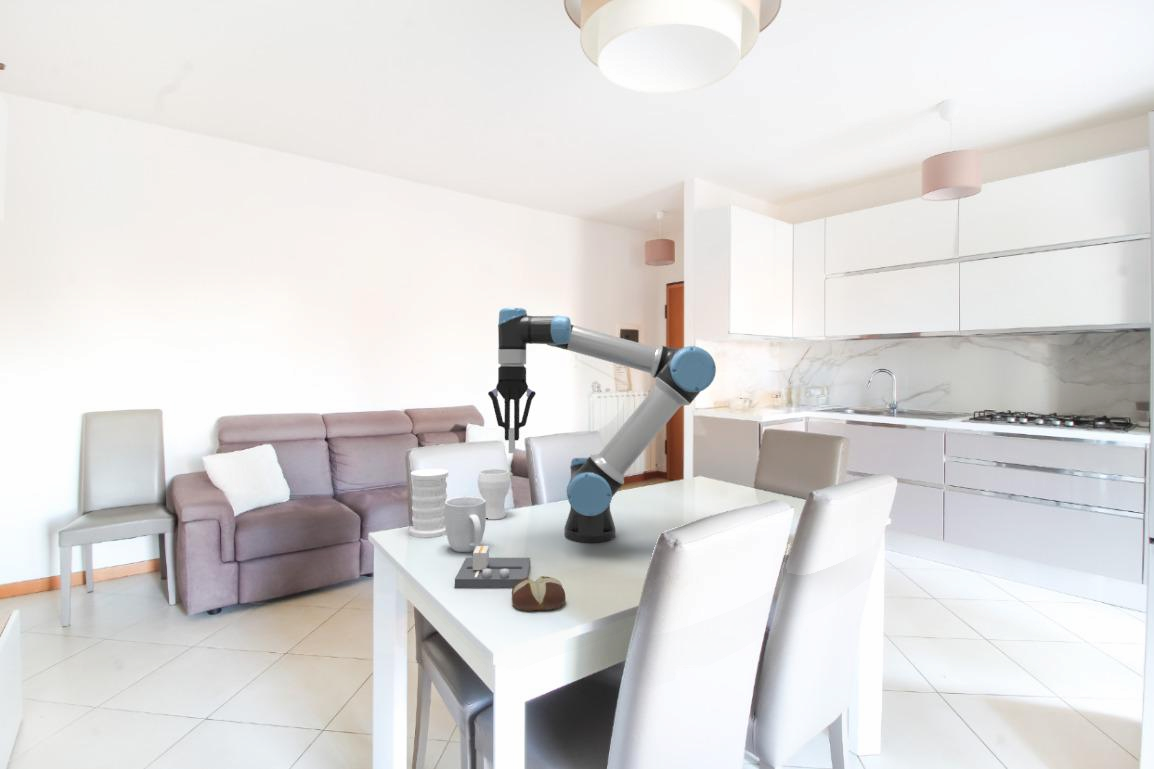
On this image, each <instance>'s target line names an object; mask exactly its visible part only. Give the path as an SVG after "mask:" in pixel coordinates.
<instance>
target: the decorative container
mask: <svg viewBox="0 0 1154 769" xmlns="http://www.w3.org/2000/svg"><path fill="white" fill-rule="evenodd" d="M448 476H449V470H447V469H443V468H423V469H417V470H413V471H411V472H410V478H411V479H412V485H411V488H412V495H411V500H412V506H411V509H412V517H411V520H412V521H411V522H413V523H412V524H413V525H412V526H410V528H409V535H410V536H412V537H415V538H420V539H421V538H423V539H425V538H426V539H428V538H429V539H430V538H437V537H441V536H445V535H447V534H446V529H445V501H446V500H447V497H448V494H447V487H448V483H447V478H448Z"/></svg>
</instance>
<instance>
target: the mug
mask: <svg viewBox="0 0 1154 769" xmlns="http://www.w3.org/2000/svg"><path fill="white" fill-rule="evenodd" d="M486 520H487V519H486V501H485V499H483V498H482V497H478V496H457V497H451V498H449V499H446V501H445V529H446V534H445V535H446V537H447V538H446V539H447V541H448V543H449V546H450V547H451V549H452V551H455V552H457V553H469V552H474V550H475V548H476V546H481V543H482V540H483V538H484V534H485V530H486V522H487V521H486Z"/></svg>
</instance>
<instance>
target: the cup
mask: <svg viewBox="0 0 1154 769" xmlns="http://www.w3.org/2000/svg"><path fill="white" fill-rule="evenodd" d="M510 486H511V475H510V472H509V470H508V469H504V468H487V469H482V470H480V471H479V472H478V476H477V487H478V491H479V494H480V495H481V498H483V499H485V501H486V518H488V519H487V520H500V519H504V518H506V516H507V514H506V508H505V502H506V497H507V495H508V493H509V490H510Z"/></svg>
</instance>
